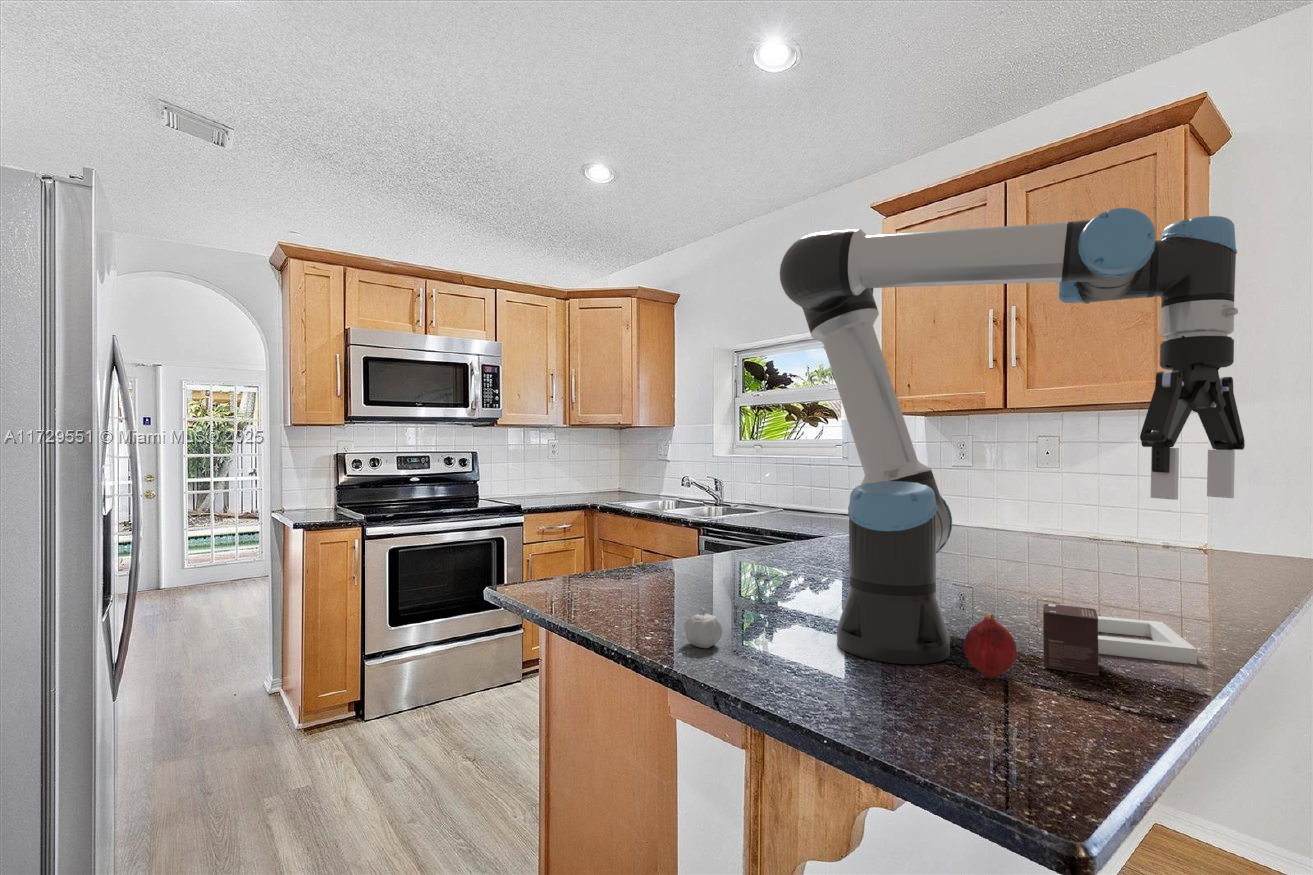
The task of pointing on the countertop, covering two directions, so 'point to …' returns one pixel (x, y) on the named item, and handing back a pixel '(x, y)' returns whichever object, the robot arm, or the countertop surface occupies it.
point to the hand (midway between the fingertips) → (1193, 498)
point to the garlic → (703, 629)
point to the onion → (990, 647)
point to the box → (1070, 638)
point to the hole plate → (1144, 641)
